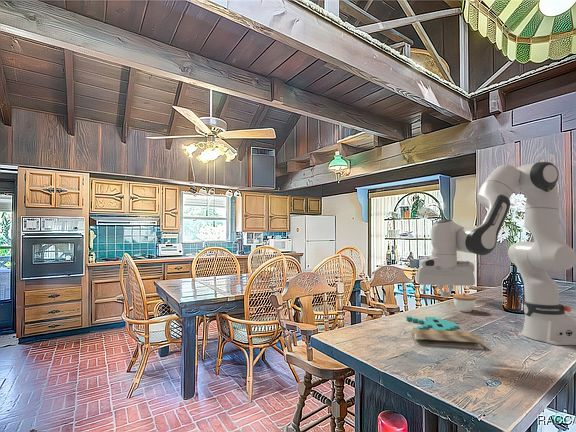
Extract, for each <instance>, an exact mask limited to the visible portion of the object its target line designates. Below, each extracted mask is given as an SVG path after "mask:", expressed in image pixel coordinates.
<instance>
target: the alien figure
mask: <svg viewBox="0 0 576 432" xmlns="http://www.w3.org/2000/svg"><path fill="white" fill-rule="evenodd" d="M405 318H406V321H407V322H412V323H417V325H418V326H417V327H413V328H412V329H423V330H429V328H432V330H441V331H456V330H457V329H460V328H459V325H458V324H457V323H456V322H455V321H449V320H447V319H442V318H438V317H435V316H425V318H424V319H425V320H426V321H425V320H424V319H421V318H417V317H412V316H408V315H407V316H406V317H405Z"/></svg>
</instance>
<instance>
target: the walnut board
mask: <svg viewBox="0 0 576 432" xmlns="http://www.w3.org/2000/svg"><path fill="white" fill-rule="evenodd" d="M411 330H412V333H413V336H414V337H413V336H412V337H413V338H414V339H415V333H422V334H440V335H457V336H474V337H477V336H476V335H475V334H474V332H472V331H456V330H451V331H441V330H434V329H424V330H423V329H413V328H412V329H411Z"/></svg>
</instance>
